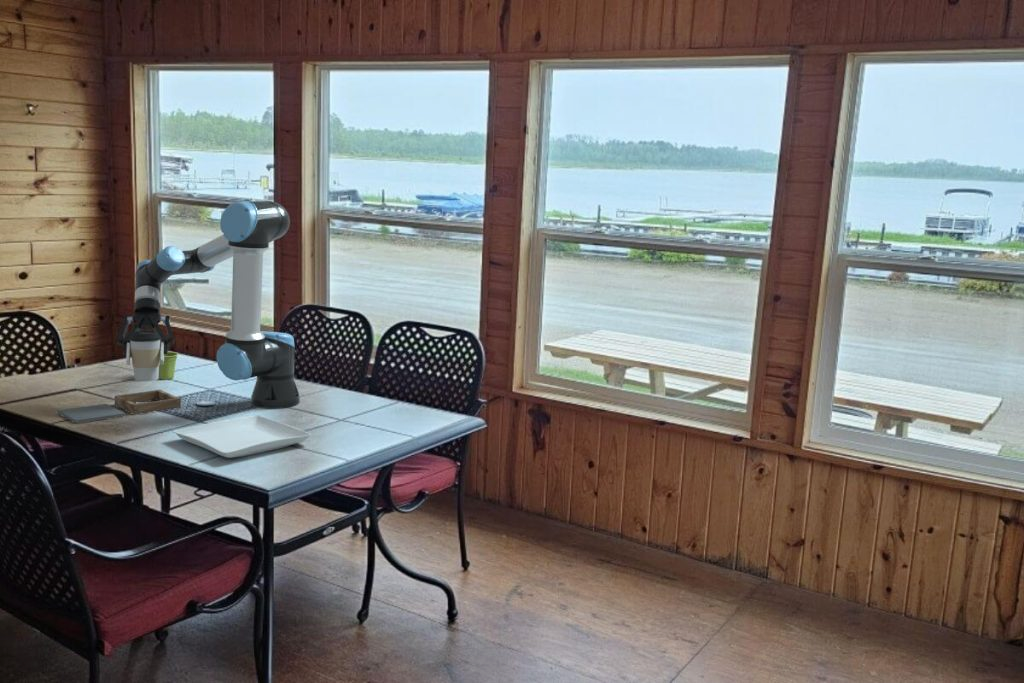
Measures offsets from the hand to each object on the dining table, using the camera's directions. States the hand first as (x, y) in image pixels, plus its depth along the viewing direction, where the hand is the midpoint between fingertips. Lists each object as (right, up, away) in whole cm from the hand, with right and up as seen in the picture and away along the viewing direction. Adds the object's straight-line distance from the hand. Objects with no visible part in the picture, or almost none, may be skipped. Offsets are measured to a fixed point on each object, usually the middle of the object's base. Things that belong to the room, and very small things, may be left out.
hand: (145, 362), depth 277 cm
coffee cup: (-1, -5, +4) cm, 7 cm away
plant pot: (-11, -7, +44) cm, 45 cm away
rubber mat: (-13, -15, -7) cm, 21 cm away
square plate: (+38, -22, -27) cm, 51 cm away
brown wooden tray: (-1, -14, +5) cm, 15 cm away
